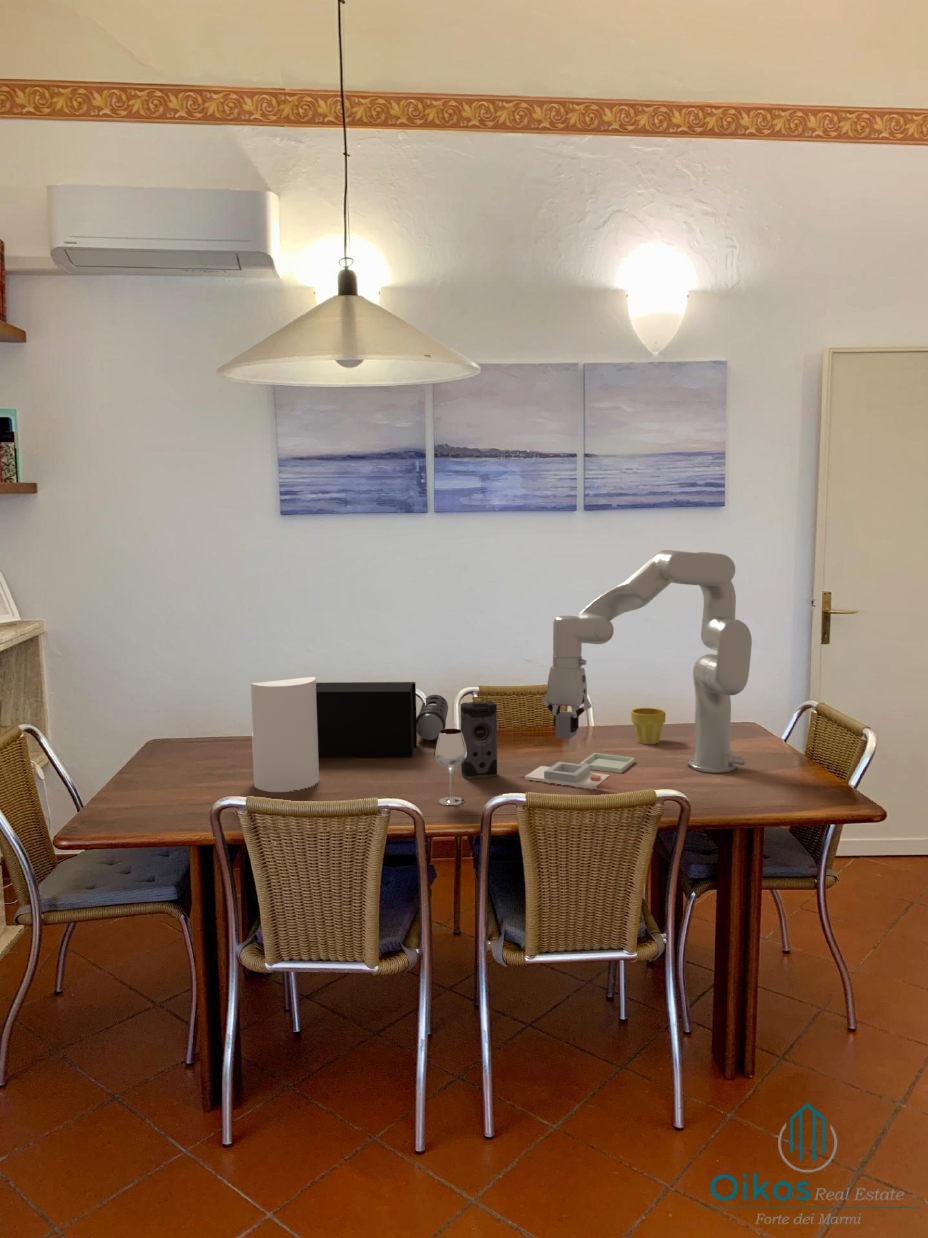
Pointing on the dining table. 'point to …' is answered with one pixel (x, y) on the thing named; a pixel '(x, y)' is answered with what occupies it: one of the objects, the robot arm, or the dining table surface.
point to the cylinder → (285, 734)
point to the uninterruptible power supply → (366, 719)
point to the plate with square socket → (567, 775)
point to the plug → (564, 725)
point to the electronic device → (479, 739)
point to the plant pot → (648, 724)
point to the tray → (608, 762)
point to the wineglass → (450, 757)
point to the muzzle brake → (432, 717)
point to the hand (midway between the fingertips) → (565, 729)
